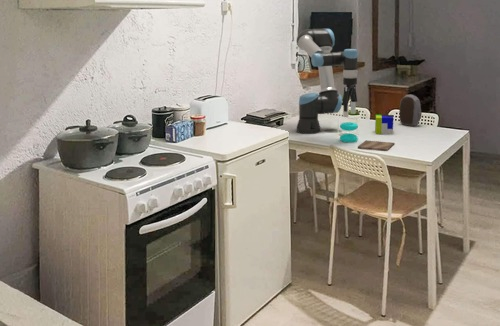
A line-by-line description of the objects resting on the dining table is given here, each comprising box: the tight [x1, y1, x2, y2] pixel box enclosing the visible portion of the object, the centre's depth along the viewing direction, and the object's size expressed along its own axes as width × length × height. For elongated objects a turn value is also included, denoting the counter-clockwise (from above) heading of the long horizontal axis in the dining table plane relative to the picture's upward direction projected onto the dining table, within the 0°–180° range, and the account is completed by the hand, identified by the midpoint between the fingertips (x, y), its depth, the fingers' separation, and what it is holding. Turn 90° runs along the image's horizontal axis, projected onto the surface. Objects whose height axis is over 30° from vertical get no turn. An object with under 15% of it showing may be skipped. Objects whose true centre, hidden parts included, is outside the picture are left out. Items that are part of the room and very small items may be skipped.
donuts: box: [339, 122, 359, 143], centre depth 302 cm, size 10×10×10 cm
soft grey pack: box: [398, 94, 423, 126], centre depth 338 cm, size 15×8×20 cm, turn 36°
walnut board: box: [357, 140, 395, 152], centre depth 288 cm, size 16×16×1 cm
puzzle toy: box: [374, 114, 394, 135], centre depth 320 cm, size 10×10×10 cm
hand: (349, 115), depth 299 cm, fingers open, 13 cm apart
